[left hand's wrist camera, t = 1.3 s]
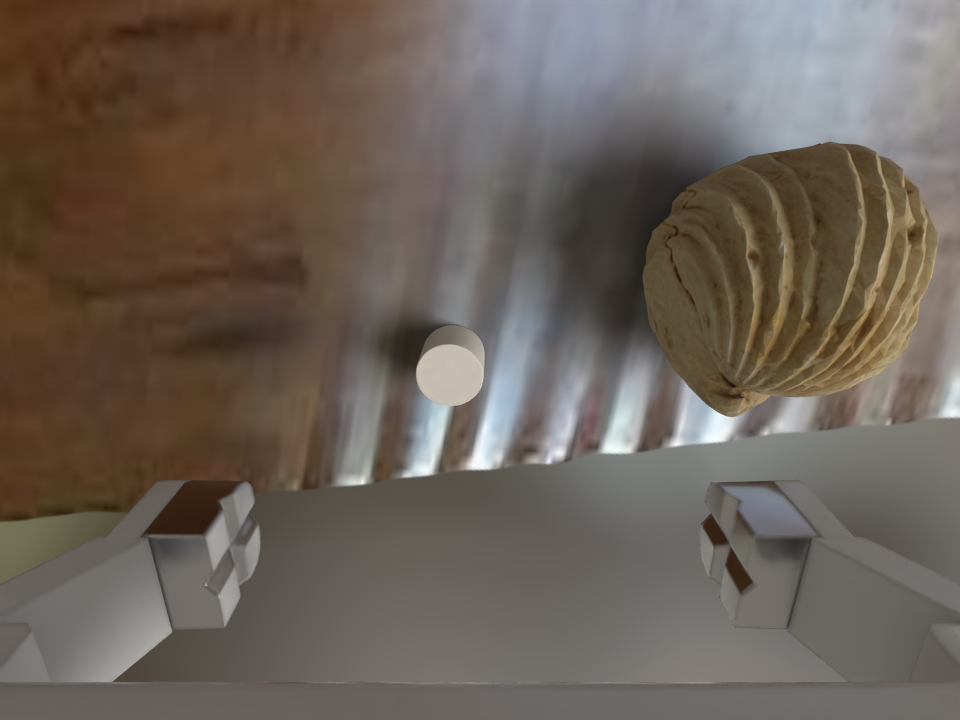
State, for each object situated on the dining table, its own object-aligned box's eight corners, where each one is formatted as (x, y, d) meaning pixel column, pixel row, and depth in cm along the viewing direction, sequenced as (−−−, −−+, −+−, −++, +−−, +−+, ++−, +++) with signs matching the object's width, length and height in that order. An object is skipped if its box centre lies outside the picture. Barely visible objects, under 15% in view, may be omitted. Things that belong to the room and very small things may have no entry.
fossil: (592, 337, 45) (634, 434, 31) (694, 104, 38) (804, 94, 25) (769, 396, 46) (886, 513, 32) (896, 180, 40) (1108, 211, 26)
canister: (443, 312, 45) (438, 331, 41) (496, 346, 46) (496, 367, 42) (411, 361, 46) (403, 384, 42) (462, 393, 47) (459, 417, 43)
